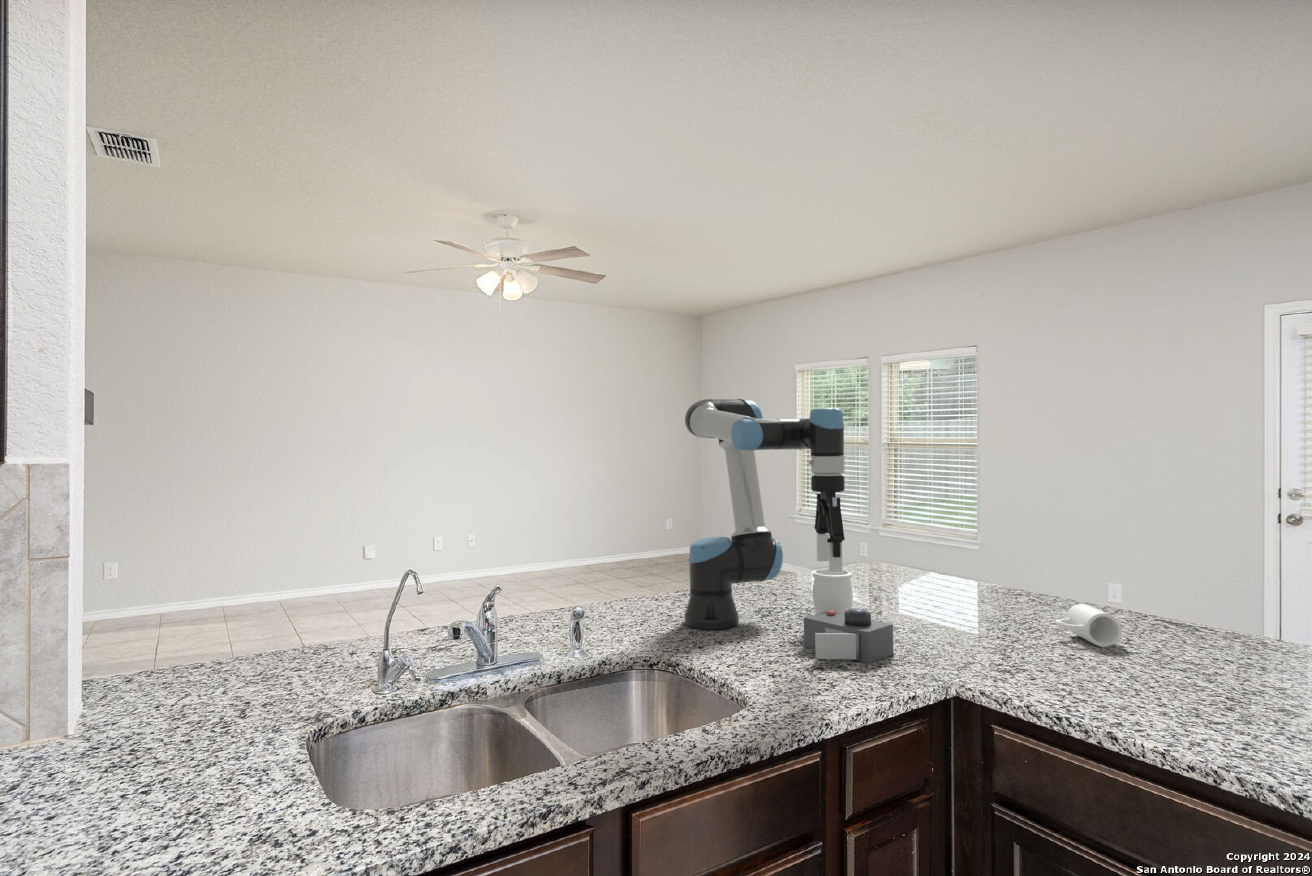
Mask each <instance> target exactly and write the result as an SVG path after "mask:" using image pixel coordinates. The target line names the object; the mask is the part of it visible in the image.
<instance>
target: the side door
mask: <svg viewBox="0 0 1312 876" xmlns="http://www.w3.org/2000/svg"><path fill="white" fill-rule="evenodd" d="M814 650H815V659H816V660H818V659H819V660H854V659H859V634H858V633H855V634H851V633H815V649H814Z"/></svg>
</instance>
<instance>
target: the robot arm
mask: <svg viewBox="0 0 1312 876" xmlns="http://www.w3.org/2000/svg"><path fill="white" fill-rule="evenodd" d="M843 415H844V414H843V411H842V409H840V408H838V407H837V408H836V407H827V408H826V407H825V408H824V407H821V408H813V409H811V410H810V413H809V418H763V413H762V411H761V408H760V407H759V405H758V404H757V403H755V402H754V401H753V400H750V399H742V398H736V399H732V398H731V399H726V398H725V399H721V398H719V399H718V398H717V399H715V398H714V399H713V398H707V399H702V400H698V401H696V402H694V403H692V404H691V405H690V407H688V409H687V410H686V412H685V416H684V423H685V427H686V429H687V430H688V432H690V434H691V435H693V436H695V437H697V438H702V439H717V440H718V444H719V448H721V449H723V450H724V452H725V459H726V460H725V461H726V468H727V476H728V482H729V483H728V484H729V490H730V497H731V505H732V513H733V514H732V515H733V521H734V528H735V530H734V531H733V533H731V536H730V537H727V536H717V537H715V536H713V537H706V538H701V539H698V540H696V541H694V542H692V544H691V545H690V547H689V555H688V556H689V557H688V563H689V593H690V594H689V600H688V603H687V606H686V611H685V612H684V616H683V617H684V624H685V626H687V627H690V628H692V629H696V630H697V629H698V630H706V631H715V630H716V631H717V630H719V631H720V630H726V629H727V630H728V629H732V628H735V627H737V626H738V625H739V623H740V614H739V612H738V611H737V608H736V604H735V600H734V598H733V584H742V583H744V584H745V583H753V582H755V583H756V582H764V581H771V580H773V579H775V578H777V577H778V575H779V574H780V572H781V569H782V567H783V563H784V554H783V553H784V552H783V547H782V545H781V544H780V541H779V540H777V539H776V538H773V536H772V535H773V534H772V531H771V530H770V529H768V528H767V527H766V525H765V524H766V523H765V517H764V516H765V515H764V510H763V504H762V497H761V487H760V483H759V476H758V475H759V474H758V467H757V460H756V454H755V453H756V452H755V451H762V450H763V451H765V450H766V451H767V450H769V451H770V450H801V451H802V450H810V459H811V460H809V461H808V465H810V468H811V469H810V471H811V473H812V474H813V475H812V476H811V477H810V487H811V488H810V490H811V491H812V492H814V493H816V508H815V509H816V510H815V520H814V530H815V532H816V559H817V560H816V561H817V562H829V563H828V568H829V571H830V572H842V570H843V541H845V532H844V525H843V516H842V510H841V509H842V508H841V497H840V496H839V497H838V496H837V493H842V492H845V486H846V485H845V476H844V475H842V474H844V473H845V453H844V452H845V446H844V444H845V439H844V438H845V436H844V435H845V432H844V430H845V429H844V428H845V424H844V416H843Z"/></svg>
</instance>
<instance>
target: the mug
mask: <svg viewBox="0 0 1312 876" xmlns="http://www.w3.org/2000/svg"><path fill="white" fill-rule="evenodd" d="M1055 626H1056V627H1058V628H1060V629H1062V630H1067V631H1068V630H1069V631H1070V632H1071V633H1073V634H1074V635H1075V636H1078V637H1080V638H1081V639H1084V640H1086V641H1087V642H1089V643H1091V644H1093V645H1095V646H1097V647H1102V648H1109V647H1112V646H1113V645H1115V644H1117V642H1118V641H1119V640H1120V639H1121V637H1122V632H1123V631H1122V626H1121V623H1120V622H1119V620H1118V619H1117V618H1116V617H1115V616H1113V615H1112V614H1109V613H1107V612H1106V611H1102V610H1100V609H1099V608H1096V607H1093V606H1091V605H1089V604H1084V603H1080V604H1076V605H1073V606H1071V608H1069V609H1068V610H1067V611H1066V614H1065V618H1059V619H1056V620H1055Z"/></svg>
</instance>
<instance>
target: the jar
mask: <svg viewBox="0 0 1312 876" xmlns="http://www.w3.org/2000/svg"><path fill="white" fill-rule="evenodd" d="M811 574H812V576H813V578H814V579H813V585H812V601H813V606H814V612H815V613H814V614H818V613H822V612H826V611H835V612H837V613H842V614H844V612H845V611H847V610H849V609H852V608H853V602H854V601H853V599H854V597H853V596H854V595H853V593H854V592H853V586H852V582H851V578H852V577H853V573H852V572H851V571H848V570H844V569H842V572H830V571H829V569H828V568H827V569H816V570H814V571H812V573H811Z"/></svg>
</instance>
